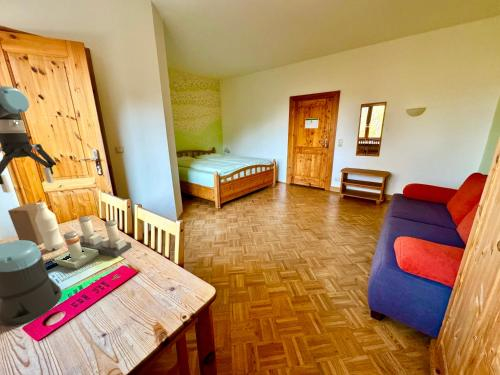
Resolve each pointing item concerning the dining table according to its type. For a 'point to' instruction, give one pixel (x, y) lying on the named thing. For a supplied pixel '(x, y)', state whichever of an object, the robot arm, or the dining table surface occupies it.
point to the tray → (88, 256)
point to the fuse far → (86, 228)
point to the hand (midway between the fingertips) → (30, 187)
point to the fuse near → (112, 232)
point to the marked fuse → (73, 246)
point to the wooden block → (26, 223)
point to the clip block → (105, 245)
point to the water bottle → (48, 227)
